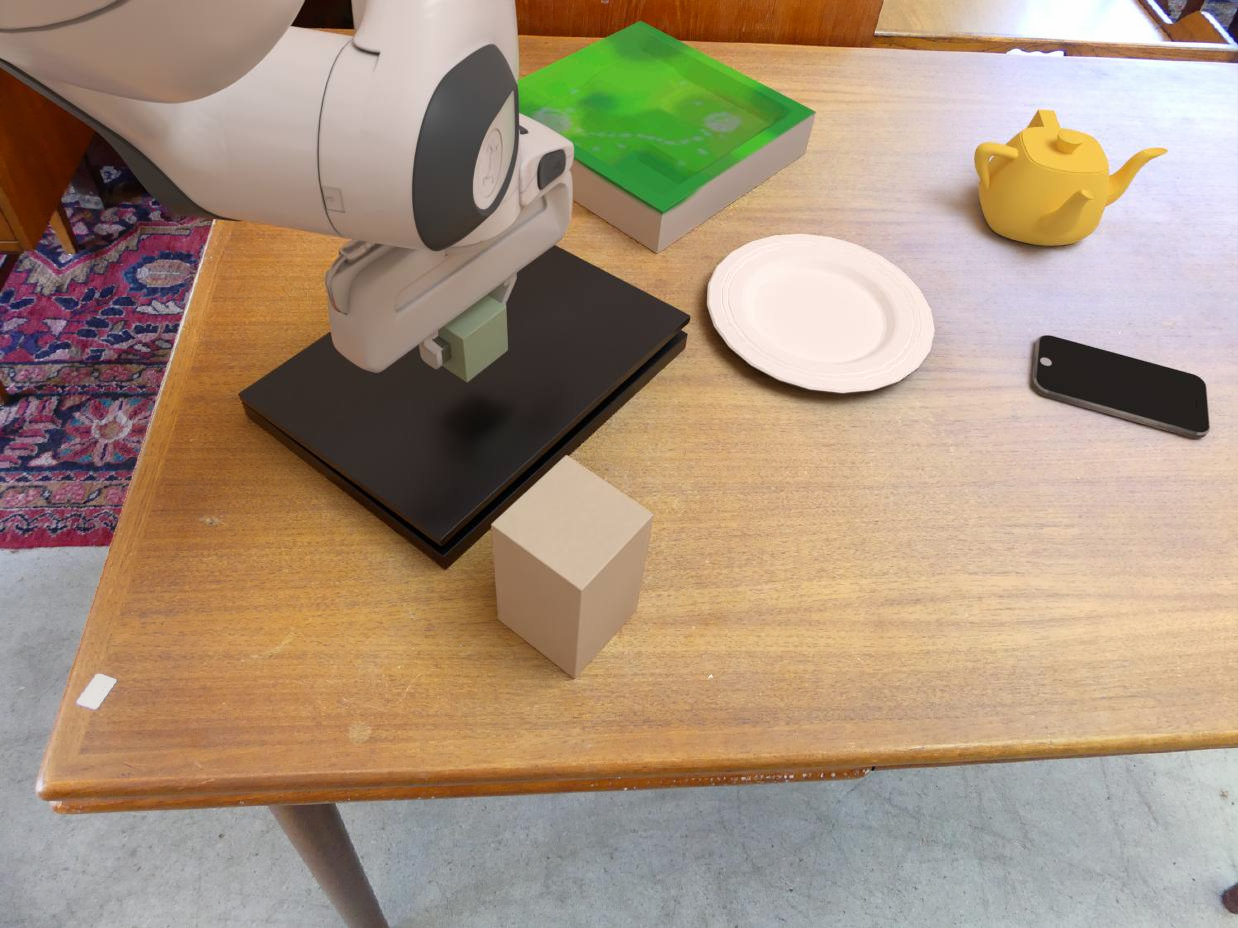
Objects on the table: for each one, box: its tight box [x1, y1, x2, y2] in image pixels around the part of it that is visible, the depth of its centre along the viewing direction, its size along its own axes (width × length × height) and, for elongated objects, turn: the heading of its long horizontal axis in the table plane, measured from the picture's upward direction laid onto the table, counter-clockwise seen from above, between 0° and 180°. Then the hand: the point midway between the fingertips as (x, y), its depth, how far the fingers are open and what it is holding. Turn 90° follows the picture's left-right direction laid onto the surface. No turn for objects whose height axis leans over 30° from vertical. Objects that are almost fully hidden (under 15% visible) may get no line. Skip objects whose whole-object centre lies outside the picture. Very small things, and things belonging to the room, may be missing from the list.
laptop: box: [241, 329, 689, 570], centre depth 77 cm, size 22×30×2 cm
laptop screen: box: [237, 244, 691, 546], centre depth 75 cm, size 22×30×1 cm
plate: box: [706, 233, 936, 395], centre depth 84 cm, size 21×21×2 cm
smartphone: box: [1031, 334, 1210, 439], centre depth 82 cm, size 8×1×15 cm
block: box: [438, 295, 508, 382], centre depth 68 cm, size 4×4×4 cm
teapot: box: [973, 109, 1169, 247], centre depth 93 cm, size 14×13×10 cm
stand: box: [490, 455, 655, 679], centre depth 60 cm, size 7×7×12 cm
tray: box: [517, 20, 817, 255], centre depth 98 cm, size 25×25×5 cm
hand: (465, 338), depth 68 cm, fingers closed on block, 4 cm apart
